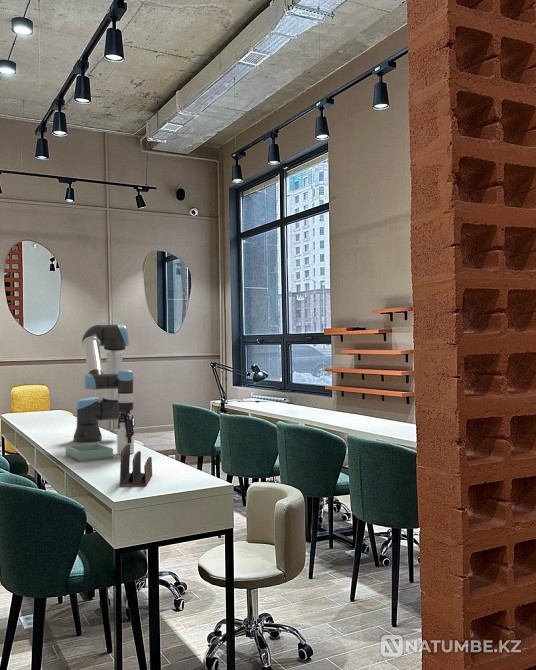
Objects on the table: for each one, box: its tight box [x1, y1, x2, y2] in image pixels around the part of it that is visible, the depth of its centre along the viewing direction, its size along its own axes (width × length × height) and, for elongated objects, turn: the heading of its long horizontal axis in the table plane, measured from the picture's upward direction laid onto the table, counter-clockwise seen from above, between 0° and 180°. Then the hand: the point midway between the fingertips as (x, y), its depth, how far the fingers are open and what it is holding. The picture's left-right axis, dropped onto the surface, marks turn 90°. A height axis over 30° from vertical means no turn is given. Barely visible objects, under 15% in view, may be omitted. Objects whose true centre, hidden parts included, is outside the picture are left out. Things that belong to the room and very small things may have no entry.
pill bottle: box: [116, 422, 135, 455], centre depth 317 cm, size 8×8×15 cm
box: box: [65, 442, 114, 463], centre depth 307 cm, size 20×16×4 cm
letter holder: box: [119, 444, 153, 488], centre depth 254 cm, size 10×20×14 cm, turn 4°
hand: (125, 448), depth 317 cm, fingers closed on pill bottle, 8 cm apart
